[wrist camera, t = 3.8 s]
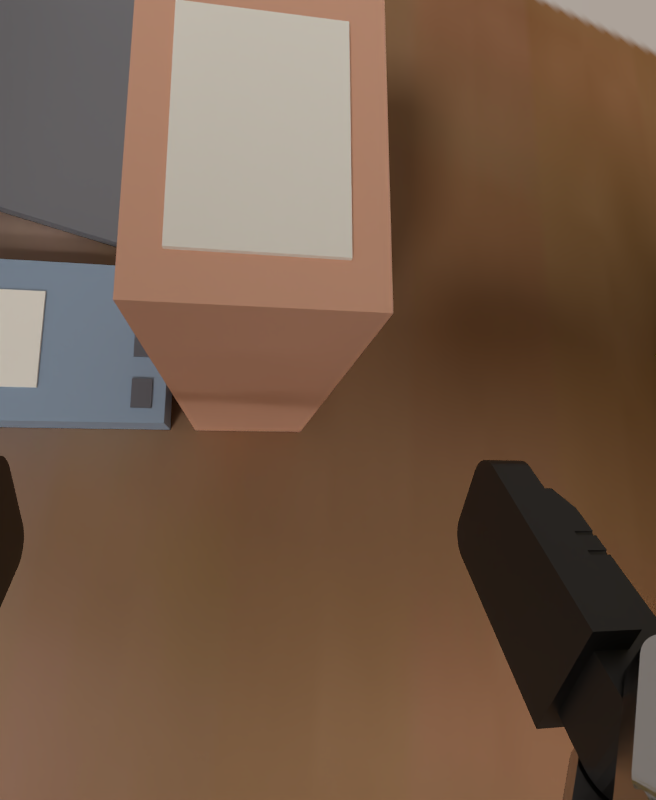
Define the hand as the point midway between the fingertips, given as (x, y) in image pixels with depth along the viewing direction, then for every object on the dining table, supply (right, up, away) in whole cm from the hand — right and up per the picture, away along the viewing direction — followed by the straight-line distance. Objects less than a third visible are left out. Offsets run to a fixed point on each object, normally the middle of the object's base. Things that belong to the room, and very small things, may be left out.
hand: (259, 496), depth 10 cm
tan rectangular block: (-1, +3, +9) cm, 10 cm away
